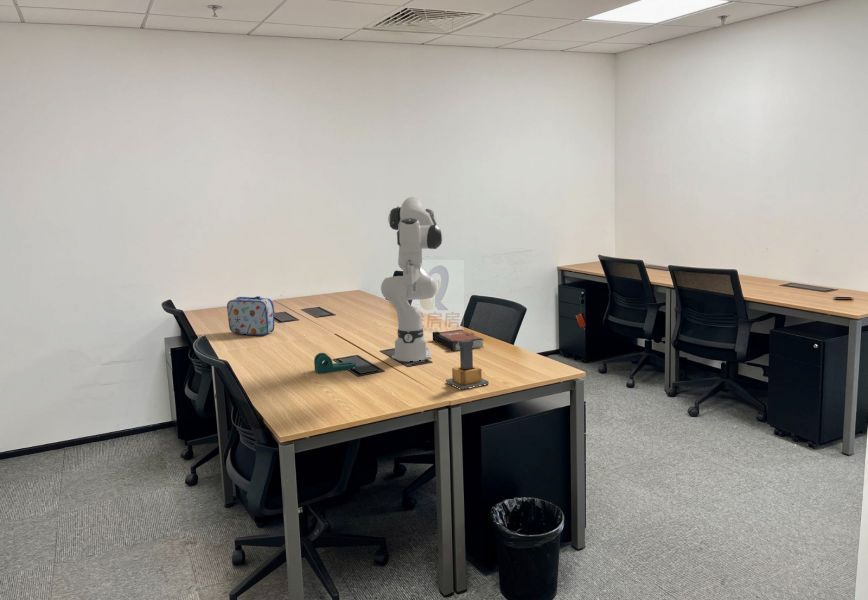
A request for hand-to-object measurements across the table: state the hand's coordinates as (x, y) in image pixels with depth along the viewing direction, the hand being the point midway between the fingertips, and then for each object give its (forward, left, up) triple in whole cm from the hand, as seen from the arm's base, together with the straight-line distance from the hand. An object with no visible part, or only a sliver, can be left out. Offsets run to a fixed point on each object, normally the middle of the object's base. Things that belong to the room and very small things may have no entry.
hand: (412, 292), depth 282 cm
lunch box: (-87, -107, -37) cm, 143 cm away
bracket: (-16, -39, -38) cm, 56 cm away
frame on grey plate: (+4, +22, -37) cm, 43 cm away
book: (-65, +11, -38) cm, 76 cm away
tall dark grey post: (+4, +22, -37) cm, 43 cm away
